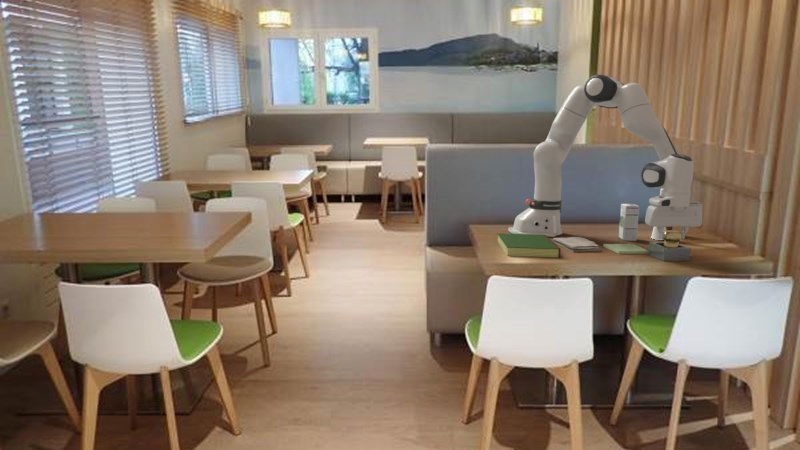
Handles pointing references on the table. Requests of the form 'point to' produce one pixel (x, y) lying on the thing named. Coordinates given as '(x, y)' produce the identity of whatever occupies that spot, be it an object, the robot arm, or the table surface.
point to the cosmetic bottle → (655, 232)
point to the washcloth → (577, 244)
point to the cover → (672, 238)
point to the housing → (669, 252)
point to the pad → (626, 248)
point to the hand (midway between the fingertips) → (671, 238)
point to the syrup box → (628, 222)
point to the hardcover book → (528, 245)
